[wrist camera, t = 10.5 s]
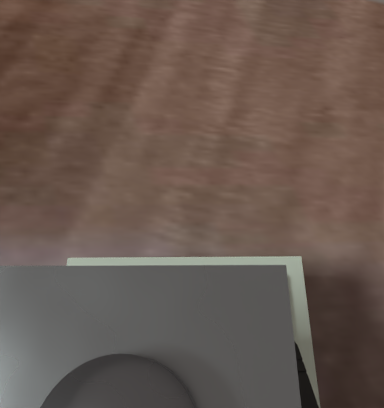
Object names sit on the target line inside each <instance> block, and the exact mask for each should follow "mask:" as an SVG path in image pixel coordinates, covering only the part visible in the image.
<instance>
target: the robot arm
mask: <svg viewBox="0 0 384 408" xmlns="http://www.w3.org/2000/svg"><path fill="white" fill-rule="evenodd" d="M294 343H295V341H294ZM295 352H296V361H297V371H298V380H299V390H300V399H301V408H319V406H318V404H317V401H316V398H315V395H314V392H313V389H312V386H311V383H310V380H309V377H308V374H307V372H306V368H305V365H304V362H303V361H302V356H301V353H300V350H299V348H298V345H297V344H296V343H295Z"/></svg>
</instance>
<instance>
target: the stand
mask: <svg viewBox="0 0 384 408" xmlns="http://www.w3.org/2000/svg"><path fill="white" fill-rule="evenodd" d="M126 265H286V268H287V277H288V287H289V296H290V305H291V315H292V324H293V333H294V341H295V343H296V344H297V345H298V348H299V350H300V353H301V356H302V361H303V362H304V365H305V368H306V372H307V374H308V377H309V380H310V383H311V386H312V389H313V392H314V395H315V398H316V401H317V404H318V406H319V408H320V400H319V392H318V385H317V377H316V369H315V361H314V353H313V345H312V337H311V329H310V321H309V314H308V306H307V298H306V290H305V282H304V274H303V266H302V258H301V256H285V257H137V258H68V260H67V266H126Z"/></svg>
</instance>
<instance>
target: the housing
mask: <svg viewBox="0 0 384 408" xmlns="http://www.w3.org/2000/svg"><path fill="white" fill-rule="evenodd" d="M0 408H301V399H300V390H299V380H298V371H297V361H296V352H295V343H294V333H293V324H292V315H291V305H290V296H289V287H288V277H287V268H286V265H126V266H0Z"/></svg>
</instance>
